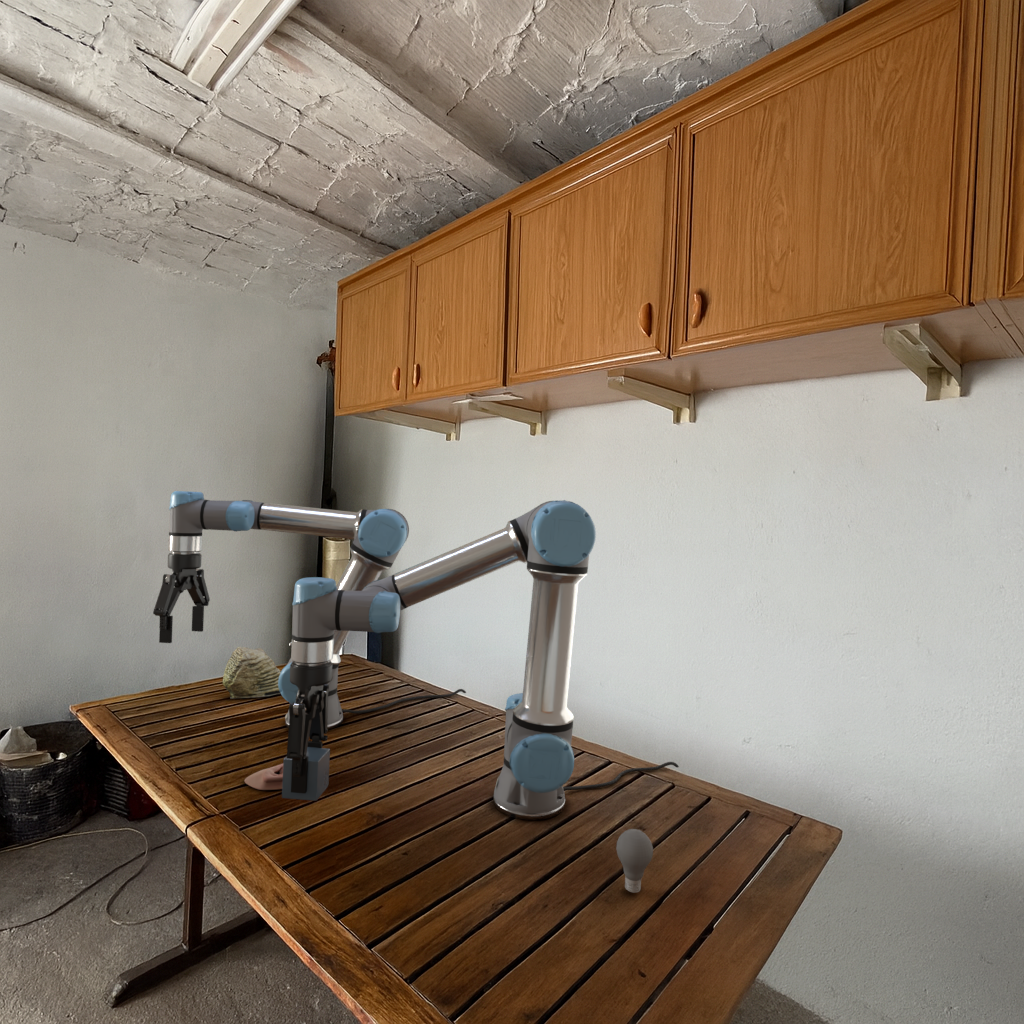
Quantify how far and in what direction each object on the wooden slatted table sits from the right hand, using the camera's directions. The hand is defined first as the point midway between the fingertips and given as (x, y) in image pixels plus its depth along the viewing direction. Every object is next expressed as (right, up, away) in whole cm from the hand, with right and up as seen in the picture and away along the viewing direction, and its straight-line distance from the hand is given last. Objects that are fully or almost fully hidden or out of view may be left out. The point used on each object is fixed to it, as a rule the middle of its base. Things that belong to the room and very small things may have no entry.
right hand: (306, 783), depth 119 cm
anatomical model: (-13, -9, +22) cm, 27 cm away
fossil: (-42, -6, +79) cm, 90 cm away
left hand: (-45, +19, +41) cm, 63 cm away
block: (0, -2, 0) cm, 2 cm away
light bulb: (+59, -13, -13) cm, 61 cm away
